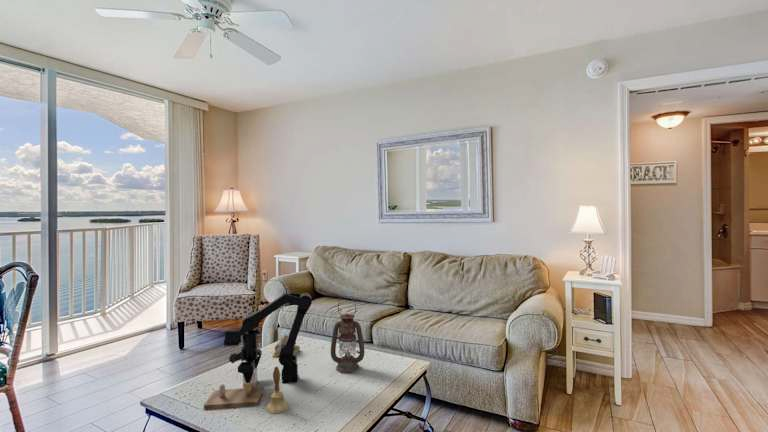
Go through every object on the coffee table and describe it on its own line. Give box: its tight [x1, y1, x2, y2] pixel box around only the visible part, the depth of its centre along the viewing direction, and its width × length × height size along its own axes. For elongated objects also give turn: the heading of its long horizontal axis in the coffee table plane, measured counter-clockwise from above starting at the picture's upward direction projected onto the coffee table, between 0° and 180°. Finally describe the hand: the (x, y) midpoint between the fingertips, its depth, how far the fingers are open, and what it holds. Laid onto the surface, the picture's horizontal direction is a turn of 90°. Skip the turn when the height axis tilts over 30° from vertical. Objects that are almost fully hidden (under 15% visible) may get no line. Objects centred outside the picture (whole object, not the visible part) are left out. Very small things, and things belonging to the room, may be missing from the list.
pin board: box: [203, 383, 265, 410], centre depth 149 cm, size 20×12×6 cm, turn 97°
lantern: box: [330, 295, 365, 374], centre depth 177 cm, size 11×16×35 cm
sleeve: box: [242, 367, 258, 388], centre depth 162 cm, size 5×5×6 cm
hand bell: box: [265, 366, 289, 415], centre depth 142 cm, size 8×8×16 cm
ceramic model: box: [271, 334, 300, 359], centre depth 197 cm, size 14×11×10 cm
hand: (250, 379), depth 162 cm, fingers open, 9 cm apart
